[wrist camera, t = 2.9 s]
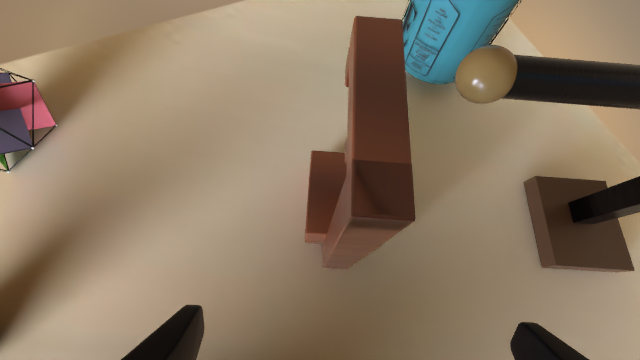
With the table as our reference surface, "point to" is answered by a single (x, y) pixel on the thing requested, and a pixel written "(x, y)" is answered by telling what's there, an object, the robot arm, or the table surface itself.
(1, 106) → the geometric puzzle
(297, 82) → the table surface
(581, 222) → the rack
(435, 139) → the table surface
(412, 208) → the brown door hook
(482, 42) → the beverage bottle
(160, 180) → the table surface
